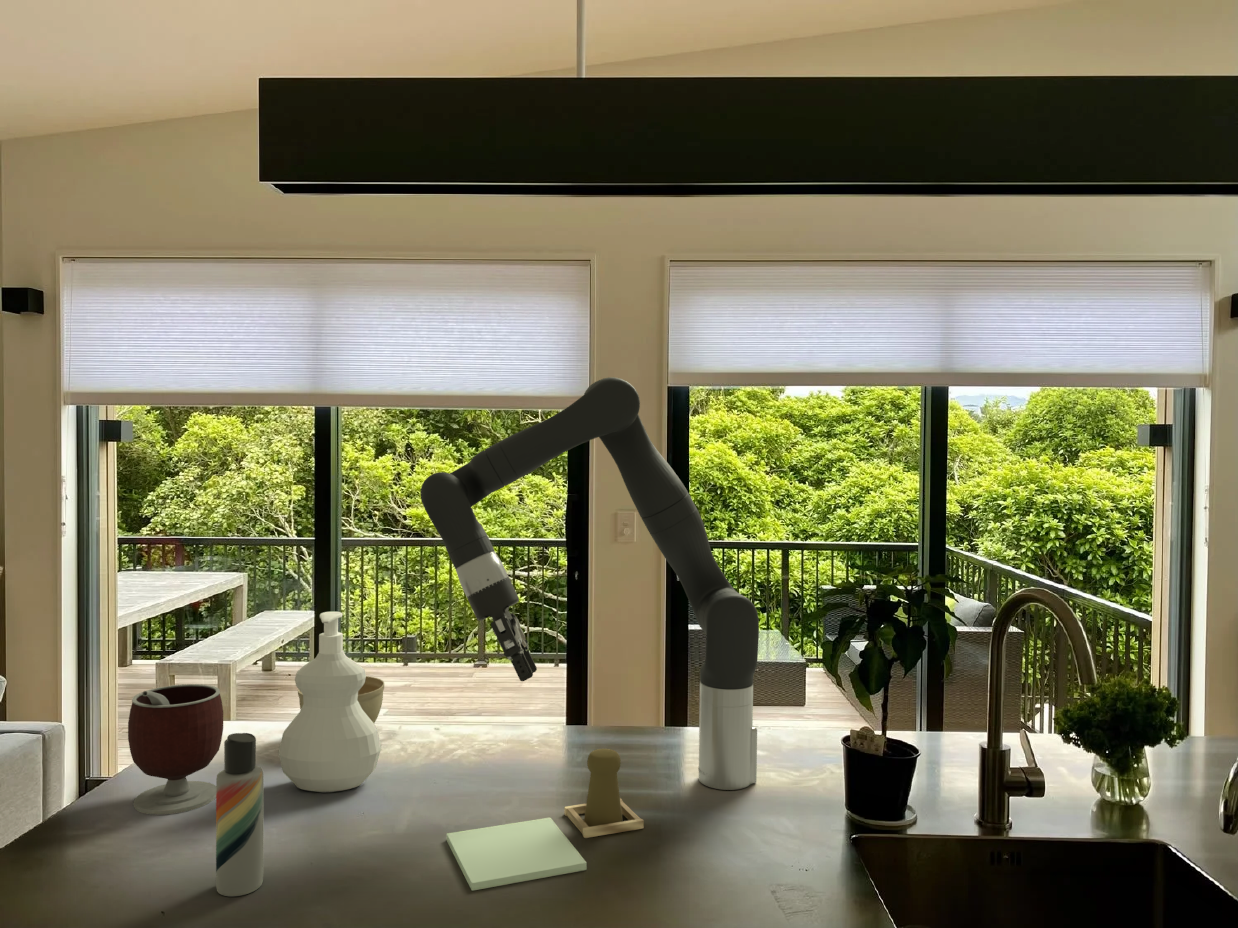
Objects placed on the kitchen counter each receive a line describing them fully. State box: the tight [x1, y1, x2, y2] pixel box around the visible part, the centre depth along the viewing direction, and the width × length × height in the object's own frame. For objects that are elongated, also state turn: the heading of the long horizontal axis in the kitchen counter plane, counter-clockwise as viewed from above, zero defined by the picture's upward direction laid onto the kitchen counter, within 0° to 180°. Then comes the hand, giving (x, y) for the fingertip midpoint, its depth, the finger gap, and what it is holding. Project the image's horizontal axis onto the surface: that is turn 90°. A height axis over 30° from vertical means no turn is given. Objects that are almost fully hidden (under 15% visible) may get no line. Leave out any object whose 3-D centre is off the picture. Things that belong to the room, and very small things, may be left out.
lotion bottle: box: [215, 732, 264, 897], centre depth 118 cm, size 6×6×20 cm
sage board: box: [446, 817, 588, 891], centre depth 128 cm, size 16×16×1 cm
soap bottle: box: [278, 611, 382, 793], centre depth 153 cm, size 17×12×29 cm
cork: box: [583, 748, 623, 827], centre depth 140 cm, size 6×6×11 cm
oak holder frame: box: [563, 797, 645, 839], centre depth 140 cm, size 10×9×1 cm
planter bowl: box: [297, 675, 385, 724], centre depth 176 cm, size 16×16×11 cm
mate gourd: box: [127, 683, 224, 816], centre depth 145 cm, size 16×14×20 cm
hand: (529, 676), depth 146 cm, fingers open, 8 cm apart
